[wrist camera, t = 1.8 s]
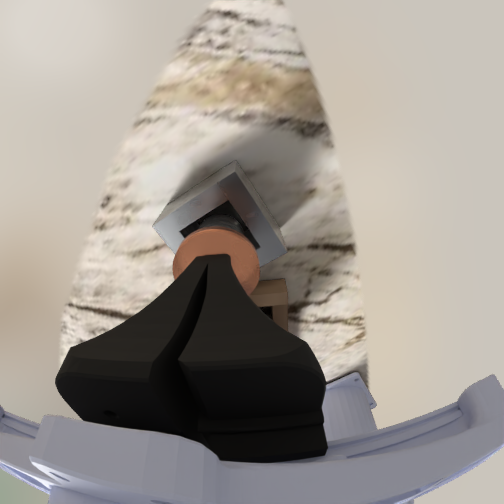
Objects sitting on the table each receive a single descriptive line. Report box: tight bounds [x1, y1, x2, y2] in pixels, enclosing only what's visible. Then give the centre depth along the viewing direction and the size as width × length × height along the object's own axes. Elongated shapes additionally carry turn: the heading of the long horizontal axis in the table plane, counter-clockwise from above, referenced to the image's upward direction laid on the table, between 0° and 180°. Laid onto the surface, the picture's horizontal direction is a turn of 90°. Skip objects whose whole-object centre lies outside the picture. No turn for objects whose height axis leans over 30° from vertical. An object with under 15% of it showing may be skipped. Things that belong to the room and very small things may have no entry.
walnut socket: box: [249, 279, 288, 332], centre depth 20 cm, size 7×7×2 cm
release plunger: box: [173, 214, 260, 296], centre depth 13 cm, size 4×4×4 cm
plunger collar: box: [152, 160, 287, 267], centre depth 16 cm, size 5×5×3 cm
